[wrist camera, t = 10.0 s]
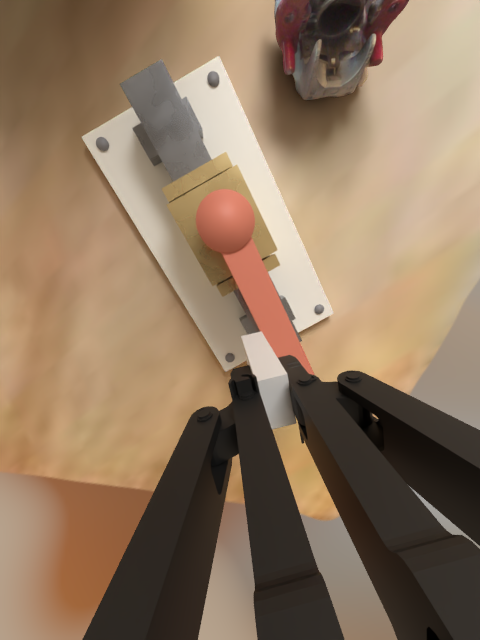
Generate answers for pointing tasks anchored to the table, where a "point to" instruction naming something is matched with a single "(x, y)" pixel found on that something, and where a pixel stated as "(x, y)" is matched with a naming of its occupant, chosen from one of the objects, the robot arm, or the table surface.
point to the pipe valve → (193, 175)
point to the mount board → (166, 237)
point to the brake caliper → (332, 42)
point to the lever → (247, 267)
